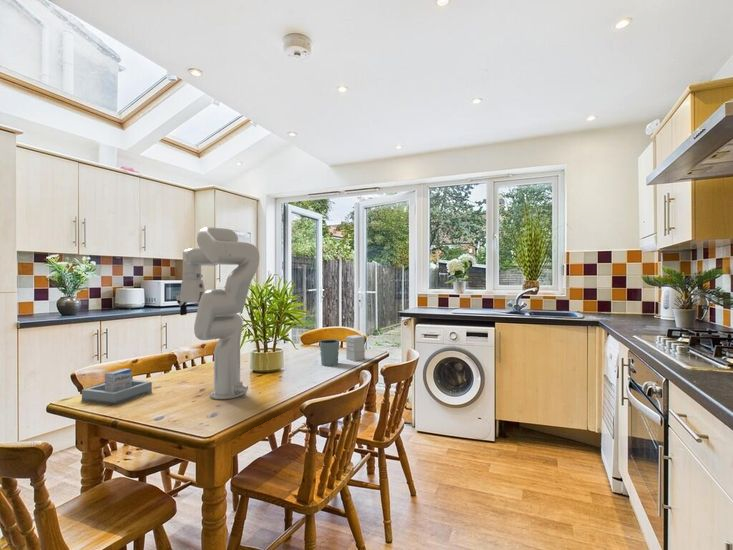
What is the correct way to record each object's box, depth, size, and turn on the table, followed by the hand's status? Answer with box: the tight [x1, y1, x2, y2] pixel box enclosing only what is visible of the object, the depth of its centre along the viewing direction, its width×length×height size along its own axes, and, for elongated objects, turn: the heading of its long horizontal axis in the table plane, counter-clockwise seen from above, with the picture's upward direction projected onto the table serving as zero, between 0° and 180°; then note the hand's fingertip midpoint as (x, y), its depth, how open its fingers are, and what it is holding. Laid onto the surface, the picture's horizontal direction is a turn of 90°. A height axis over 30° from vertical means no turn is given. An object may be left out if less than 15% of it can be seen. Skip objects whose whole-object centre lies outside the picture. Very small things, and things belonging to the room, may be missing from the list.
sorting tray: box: [81, 379, 153, 406], centre depth 148 cm, size 16×16×4 cm
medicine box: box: [104, 368, 132, 392], centre depth 148 cm, size 8×4×9 cm, turn 164°
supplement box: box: [345, 334, 366, 362], centre depth 211 cm, size 7×7×13 cm
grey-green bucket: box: [319, 339, 340, 367], centre depth 199 cm, size 10×10×12 cm
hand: (192, 315), depth 173 cm, fingers open, 9 cm apart
